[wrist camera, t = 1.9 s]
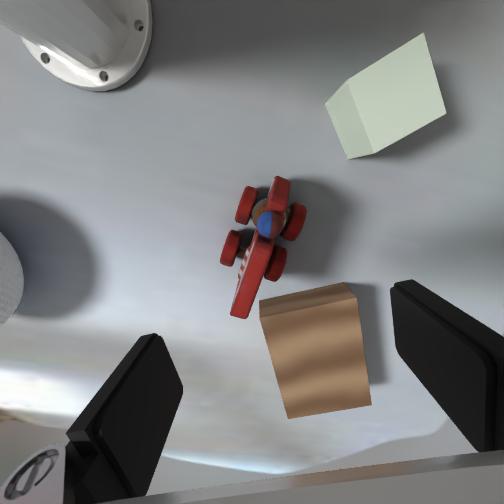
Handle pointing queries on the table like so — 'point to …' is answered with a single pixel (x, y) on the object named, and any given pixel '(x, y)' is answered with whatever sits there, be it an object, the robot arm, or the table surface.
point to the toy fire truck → (262, 240)
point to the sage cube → (387, 100)
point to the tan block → (317, 350)
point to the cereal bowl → (9, 280)
